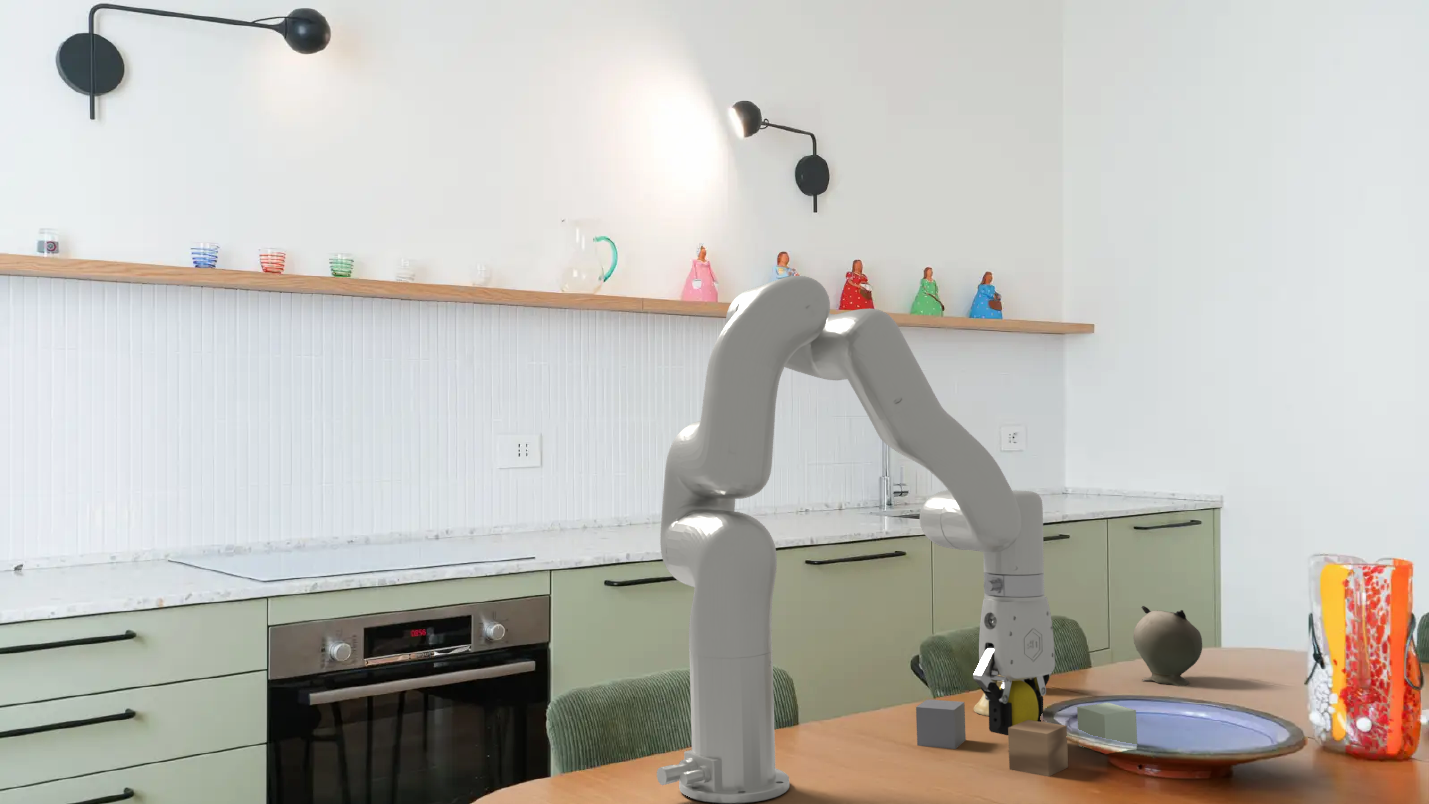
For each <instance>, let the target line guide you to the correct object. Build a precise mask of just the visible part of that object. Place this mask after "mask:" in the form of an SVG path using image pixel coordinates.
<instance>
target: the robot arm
mask: <svg viewBox="0 0 1429 804" xmlns="http://www.w3.org/2000/svg"><path fill="white" fill-rule="evenodd" d="M784 369H789V370H792V371H795V372H798V373H800V374H804V375H807V376H810V377H816V378H819V379H822V380H827V381H842V380H847V381H848V383H849V384H850V386H851V388H852V389H853V391H854V393H855V394H856V396H857V398H858V400H859V402H860V404H861V406H862V407H863V409H864V411H865V413H866V414H867V417H868V418H869V420H870V422H871V425H873V427H874V430H875V431H876V434H877V435H878V438H880V440H881V441H882V442H883V443H884V444H885V445H887V446H888V447H890V448H891V449H892V450H893V451H895V452H896V453H899V454H900V455H901V456H904V458H905V457H906V458H908V459H909V460H911V461H913V462H915V463H917V464H919V466H922V467H923V468H925V469H926V470H927V471H929V472H930V473H931V474H932V475H933V476H934V477H936V478H937V480H939V481H940V482H941V484H942V485H943V486H944V487H945V488H946V490H942V491H940V492H939V491H938V492H936V493H934V494H933V495H931V496H930V497H929V498H928V499H927V500H926V501H925V502H924V503H923V504H922V507H921V509H920V512H919V525H920V527H921V531H922V533H923V534H924V535H925V537H926V538H927V539H928V540H929V541H931V542H932V543H933V544H935V545H938V546H940V547H943V548H946V549H954V550H961V551H971V552H981V553H983V593H984V594H983V595H984V596H983V601H982V606H981V611H980V612H981V613H980V621H979V622H980V623H979V636H978V639H979V640H978V660H979V663H978V665H977V667H976V669H975V671H974V673H973V675H972V678H973V680H974V681H975V682H976V683H977V685H978V686H979V687H980V689H981V691H982V692H983V693H985V698H986V700H989V716H988V729H989V732H991V733H993V734H994V733H995V734H999V735H1004V736H1008V728H1009V727H1011V726H1012V703H1009V702H1008V698H1009V693H1010V688H1011V683H1012V681H1017V680H1021V681H1024V682H1025V683H1027V684H1028V685H1029V686H1030V687H1031V688H1032V689H1033V690H1034V692H1035V694H1036V697H1037V701H1038V709H1039V713H1038V720H1037V721H1039V722H1041V720H1040V716H1041V714H1042V713H1043V714H1044V697H1045V695H1046V694H1047V688H1046V686H1047V684H1048V682H1049V681H1050V676H1051V675H1052V673H1053V672H1054V669H1055V667H1056V658H1055V657H1056V656H1055V655H1056V654H1055V641H1054V640H1055V639H1054V629H1053V619H1052V614H1051V608H1050V603H1049V601H1048V597H1047V596H1045V570H1044V569H1045V566H1044V565H1045V563H1044V561H1045V560H1044V559H1045V557H1044V553H1045V552H1044V517H1043V516H1044V512H1043V510H1044V509H1043V506H1044V505H1043V500H1042V498H1041V496H1040V494H1038V493H1037V492H1036V491H1035V492H1034V491H1029V490H1013V489H1012V488H1011V486H1010V484H1009V482H1008V480H1007V479H1006V475H1004V473H1003V471H1002V469H1001V467H1000V466H999V464H998V462H997V461H996V460H995V458H994V457H993V456H992V454H991V453H990V452H989V451H988V449H987V448H985V447H984V445H983V444H982V443H981V442H980V441H978V440H977V438H976V437H974V436H973V435H972V434H971V433H970V432H969V431H968V430H967V429H966V427H964V426H963V425H962V424H961V423H960V422H959V421H958V420H956V419H955V417H953V416H951V415H950V414H949V413H948V412H947V411H946V410H945V409H944V408H943V406H942V404H941V403H940V401H939V400H938V398H937V396H936V394H935V393H934V391H933V389H932V386H931V385H930V382H928V381H929V380H928V379H927V377H926V376H925V374H924V372H923V370H922V368H921V367H920V364H919V363H918V360H917V358H916V357H915V355H914V353H913V351H912V349H911V347H910V346H909V344H908V342H907V340H906V338H905V335H904V334H903V333H902V330H901V329H900V327H899V325H898V324H897V322H896V321H895V320H894V318H893V317H892V316H891V315H889V314H888V313H886V312H885V311H883V310H880V309H876V308H860V309H854V310H850V311H845V312H841V313H837V314H834V313H831V301H830V296H829V294H828V292H827V290H826V288H825V287H824V286H823V284H821V282H819V281H818V280H816V279H814V278H812V277H810V276H805V275H790V276H785V277H782V278H778V279H775V280H773V281H772V280H771V281H770V282H766V283H765V284H762V285H758V286H755V287H752V288H749V289H747V290H744V291H743V292H741V293H740V294H739V295H737V296H736V297H735V298H734V300H732V301H731V303H730V305H729V307H728V309H727V312H726V318H725V326H724V327H723V329H722V330H721V332H720V334H718V336H717V339H716V341H715V343H714V345H713V347H712V350H711V353H710V357H709V360H708V363H707V369H706V374H705V375H706V376H705V381H704V382H705V383H704V390H703V391H704V392H703V399H702V407H701V418H700V420H697V421H694V422H692V423H690V424H688V425H687V426H685V427H684V428H683V429H682V430H681V431H679V433H677V435H676V436H675V438H674V440H673V441H672V443H671V445H670V448H669V450H668V453H667V457H666V462H665V471H664V481H663V492H662V507H661V521H660V537H659V539H660V543H659V544H660V553H661V558H662V561H663V564H664V566H665V568H666V569H667V571H668V573H670V575H671V576H672V577H673V579H676V580H677V581H678V582H680V583H682V584H683V585H686V586H689V587H691V588H694V589H693V592H694V593H693V596H692V603H691V607H690V612H689V613H690V614H689V624H688V650H689V651H688V653H689V676H690V677H689V682H690V683H689V684H690V685H689V687H690V721H691V723H690V724H691V725H690V726H691V749H690V750H686V751H683V754H684V755H683V756H684V757H683V758H684V759H682V760H680V761H679V763H678V764H670V765H666V766H661V767H659V768H657V771H656V778H657V782H658V783H659V785H661V786H664V785H671V784H674V783H677V782H679V783H678V784H679V786H678V789H679V791H680V793H682V795H684V796H685V795H686V797H687V796H688V798H689V797H690V799H692V800H696V801H700V802H706V803H712V804H714V803H715V804H747V803H757V802H761V801H762V802H763V801H767V800H770V799H771V800H772V799H774V798H777V797H779V796H781V795H784V793H786V792H787V791H788V790H789V788H790V776H789V775H788V774H787V773H786V772H785V771H784V770H780V769H779V768H777V767H776V743H775V742H776V740H775V739H776V738H775V709H774V708H775V707H774V706H775V705H774V697H775V696H774V672H773V671H774V669H773V665H774V664H773V662H774V661H773V659H774V658H773V640H772V639H773V638H772V635H773V632H772V631H773V630H772V623H773V622H772V619H773V618H772V614H773V613H772V612H773V610H772V609H773V600H774V599H773V598H774V592H775V591H774V590H775V583H776V576H777V566H778V559H777V558H778V555H777V549H776V545H775V543H774V539H773V537H772V535H771V533H770V532H769V530H768V529H767V528H766V526H765V525H764V523H761V522H760V521H759V520H758V519H757V518H754V517H753V516H751V515H749V514H747V513H743V512H740V511H739V512H738V511H735V508H736V500H741V499H747V498H750V497H753V496H755V495H757V494H759V493H760V492H762V490H763V489H764V488H765V487H766V486H767V483H768V482H769V480H770V477H771V473H772V467H773V456H774V455H773V453H774V450H773V449H774V437H775V436H774V435H775V422H776V419H775V418H776V405H777V397H778V390H779V385H780V380H781V377H782V374H783V372H784ZM997 675H1001V676H997ZM1002 676H1004V677H1002ZM1030 678H1031V680H1030ZM997 681H998V682H1002V685H1001V690H1000V689H999V687H998V686H997Z"/></svg>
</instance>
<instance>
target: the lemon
mask: <svg viewBox="0 0 1429 804" xmlns="http://www.w3.org/2000/svg"><path fill="white" fill-rule="evenodd" d="M999 689H1000V690H1001V686H1000V687H999ZM1008 702H1009V703H1012V726H1014V725H1016V724H1019V723H1021V722H1024V721H1027V720H1032V721H1037V720H1038V713H1039V709H1038V701H1037V697H1036V694H1035V692H1034V690H1033V689H1032V688H1031V687H1030V686H1029V685H1028V684H1027V683H1025V682H1024V681H1021V680H1017V681H1012V683H1011V688H1010V693H1009V698H1008Z"/></svg>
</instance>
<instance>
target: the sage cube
mask: <svg viewBox="0 0 1429 804" xmlns="http://www.w3.org/2000/svg"><path fill="white" fill-rule="evenodd" d="M1076 708H1077V709H1076V711H1077V712H1076V713H1077V730H1078V729H1079V730H1082V731H1084V732H1086V733H1088V734H1090V735H1093V736H1098V737H1102V738H1106V739H1112V740H1117V741H1120V742H1126V743H1132V744H1137V745H1138V730H1137V729H1138V728H1137V726H1138V725H1137V710H1136V709H1133V708H1130V707H1126V706H1122V705H1118V704H1114V703H1112V702H1111V703H1110V702H1103V703H1096V704H1089V705H1088V704H1087V705H1081V706H1076ZM1078 746H1079V747H1080V748H1081V747H1082V746H1080V745H1079V744H1078ZM1082 748H1083V747H1082Z"/></svg>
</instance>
